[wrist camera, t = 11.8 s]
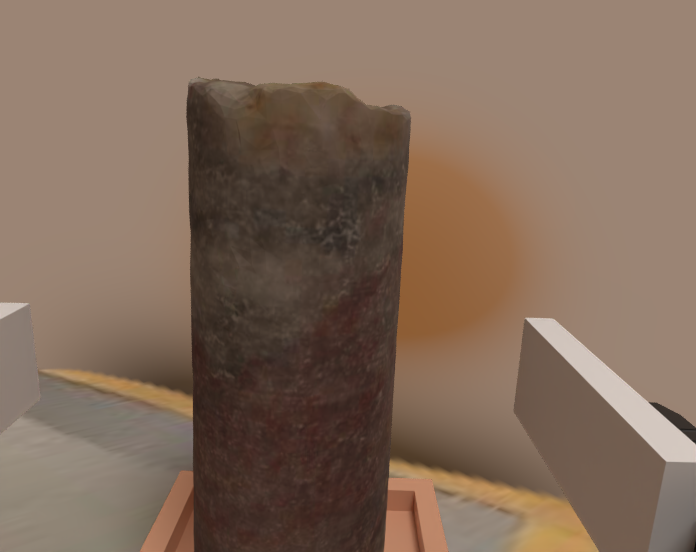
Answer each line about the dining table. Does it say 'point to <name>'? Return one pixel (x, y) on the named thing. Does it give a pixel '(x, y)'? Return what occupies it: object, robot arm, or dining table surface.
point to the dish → (401, 518)
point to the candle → (293, 313)
